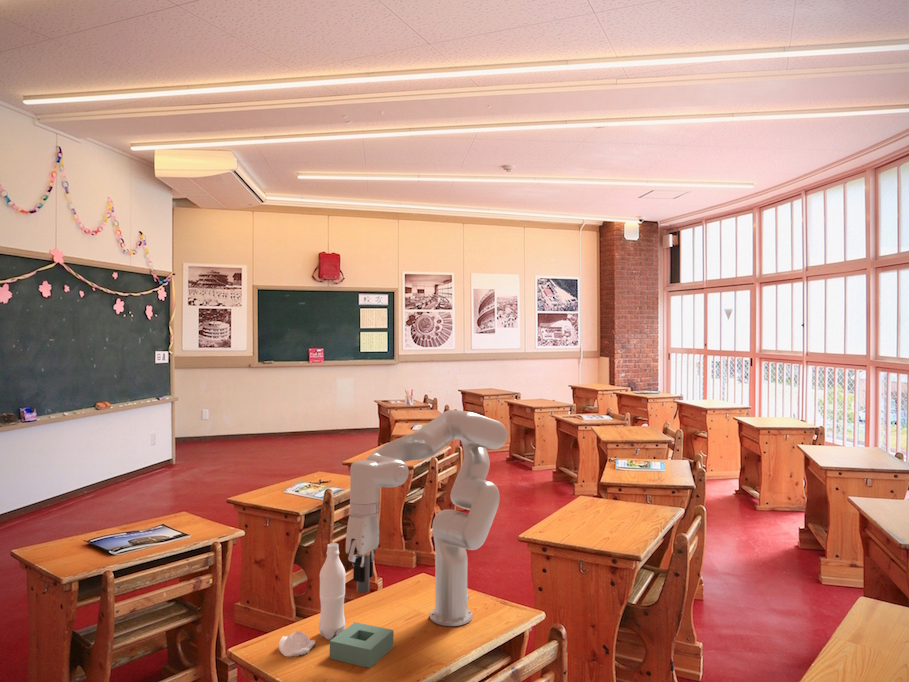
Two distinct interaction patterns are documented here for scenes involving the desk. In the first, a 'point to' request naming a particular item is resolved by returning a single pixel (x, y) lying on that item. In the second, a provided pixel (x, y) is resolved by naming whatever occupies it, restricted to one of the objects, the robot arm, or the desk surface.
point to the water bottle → (332, 594)
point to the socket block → (361, 644)
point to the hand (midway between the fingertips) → (363, 578)
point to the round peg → (364, 586)
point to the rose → (295, 644)
